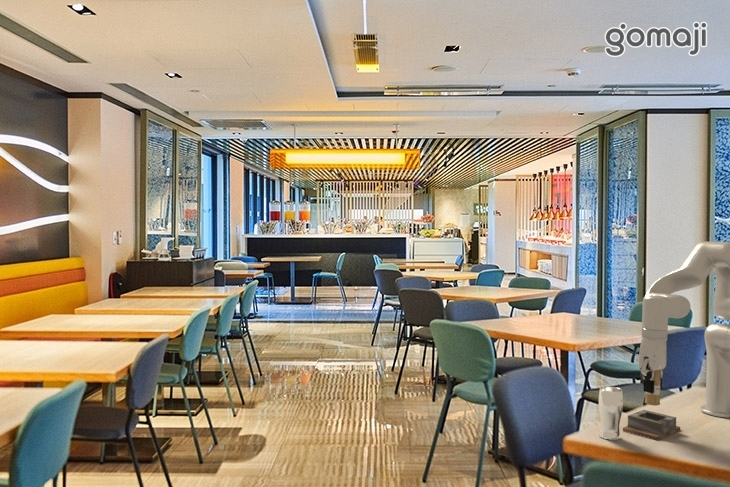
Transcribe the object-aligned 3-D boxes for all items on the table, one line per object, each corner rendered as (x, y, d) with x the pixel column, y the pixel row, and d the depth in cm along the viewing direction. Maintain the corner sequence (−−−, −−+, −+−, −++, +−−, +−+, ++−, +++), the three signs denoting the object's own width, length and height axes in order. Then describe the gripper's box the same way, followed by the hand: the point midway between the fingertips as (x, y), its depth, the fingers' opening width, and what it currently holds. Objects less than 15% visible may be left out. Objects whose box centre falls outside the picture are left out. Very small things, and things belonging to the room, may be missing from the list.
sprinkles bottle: (661, 406, 197) (662, 364, 197) (645, 405, 199) (646, 363, 199) (658, 402, 202) (660, 361, 202) (643, 401, 203) (645, 360, 203)
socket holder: (646, 421, 210) (647, 408, 210) (680, 429, 202) (680, 416, 201) (622, 430, 200) (623, 416, 200) (657, 440, 191) (657, 425, 191)
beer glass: (623, 441, 189) (625, 392, 189) (599, 439, 191) (601, 391, 190) (619, 434, 196) (620, 386, 196) (596, 432, 198) (597, 385, 197)
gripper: (655, 330, 208) (653, 384, 209) (630, 335, 197) (628, 392, 198) (678, 333, 202) (676, 389, 203) (653, 338, 191) (651, 397, 192)
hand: (652, 390), depth 200 cm, fingers closed on sprinkles bottle, 4 cm apart
